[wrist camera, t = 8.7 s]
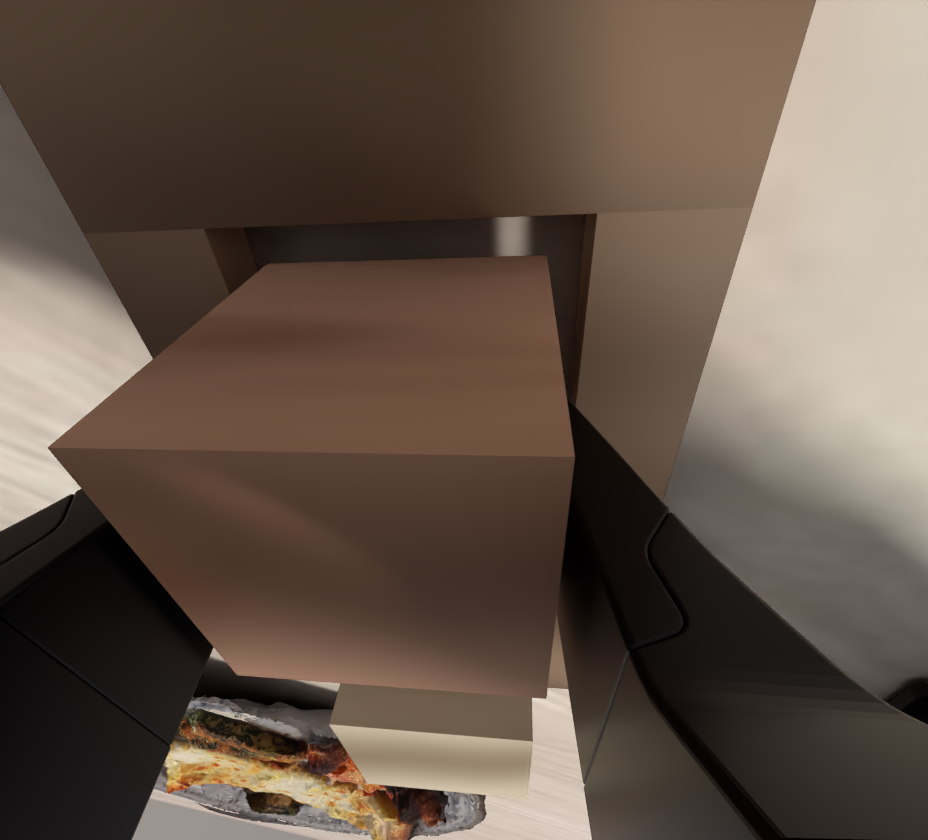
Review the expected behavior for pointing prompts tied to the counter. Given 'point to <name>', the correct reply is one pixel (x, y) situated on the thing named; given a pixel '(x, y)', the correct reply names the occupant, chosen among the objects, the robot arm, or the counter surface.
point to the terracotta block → (353, 473)
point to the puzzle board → (424, 200)
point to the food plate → (298, 775)
